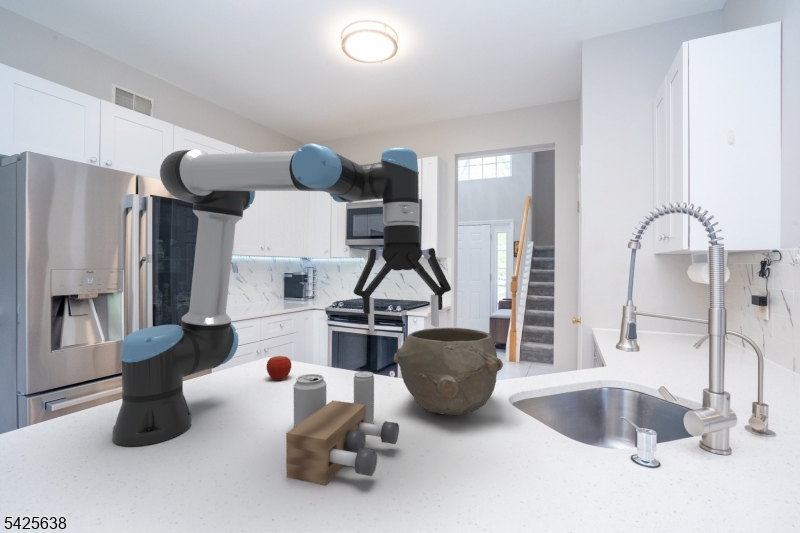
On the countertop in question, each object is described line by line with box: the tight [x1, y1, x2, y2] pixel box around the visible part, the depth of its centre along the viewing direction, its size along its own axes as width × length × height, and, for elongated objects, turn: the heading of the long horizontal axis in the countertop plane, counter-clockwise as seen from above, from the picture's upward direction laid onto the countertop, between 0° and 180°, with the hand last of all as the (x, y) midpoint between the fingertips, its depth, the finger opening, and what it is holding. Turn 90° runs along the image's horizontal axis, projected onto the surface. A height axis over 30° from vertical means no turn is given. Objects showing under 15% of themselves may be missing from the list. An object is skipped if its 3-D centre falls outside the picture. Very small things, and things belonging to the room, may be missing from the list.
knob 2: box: [329, 447, 378, 477], centre depth 68 cm, size 11×4×4 cm, turn 71°
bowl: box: [393, 327, 504, 416], centre depth 101 cm, size 27×29×20 cm
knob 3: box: [358, 420, 400, 445], centre depth 79 cm, size 11×4×4 cm, turn 71°
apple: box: [266, 355, 292, 381], centre depth 126 cm, size 8×8×8 cm
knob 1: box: [344, 430, 366, 453], centre depth 75 cm, size 11×4×4 cm, turn 71°
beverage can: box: [353, 371, 375, 424], centre depth 91 cm, size 5×5×12 cm
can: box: [293, 373, 327, 428], centre depth 89 cm, size 8×8×12 cm
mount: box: [285, 399, 367, 486], centre depth 75 cm, size 8×17×8 cm, turn 161°
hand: (403, 328), depth 79 cm, fingers open, 13 cm apart
